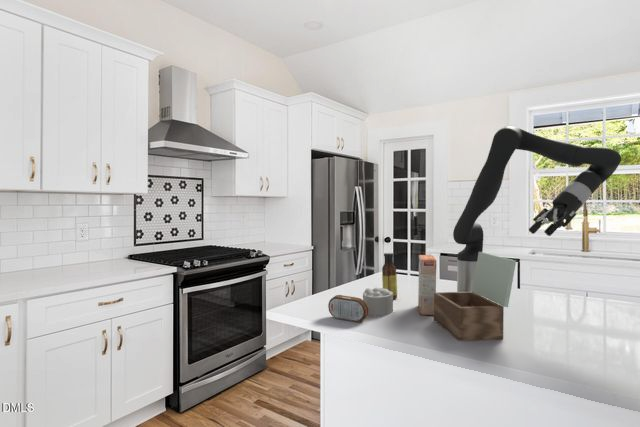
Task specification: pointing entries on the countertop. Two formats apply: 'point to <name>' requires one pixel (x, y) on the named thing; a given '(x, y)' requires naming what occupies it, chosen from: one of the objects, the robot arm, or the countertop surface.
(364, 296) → the lumpy-topped squat cylinder
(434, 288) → the cracker box
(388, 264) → the sauce bottle
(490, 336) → the walnut box
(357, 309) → the tin
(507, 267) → the box lid
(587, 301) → the countertop surface
